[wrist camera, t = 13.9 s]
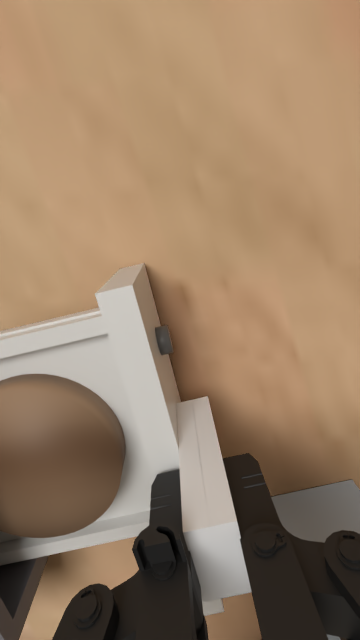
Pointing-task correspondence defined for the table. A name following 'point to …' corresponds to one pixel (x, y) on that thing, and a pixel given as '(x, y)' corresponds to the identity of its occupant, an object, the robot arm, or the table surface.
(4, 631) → the housing
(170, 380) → the tray
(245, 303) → the table surface
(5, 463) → the coaster
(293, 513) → the block
